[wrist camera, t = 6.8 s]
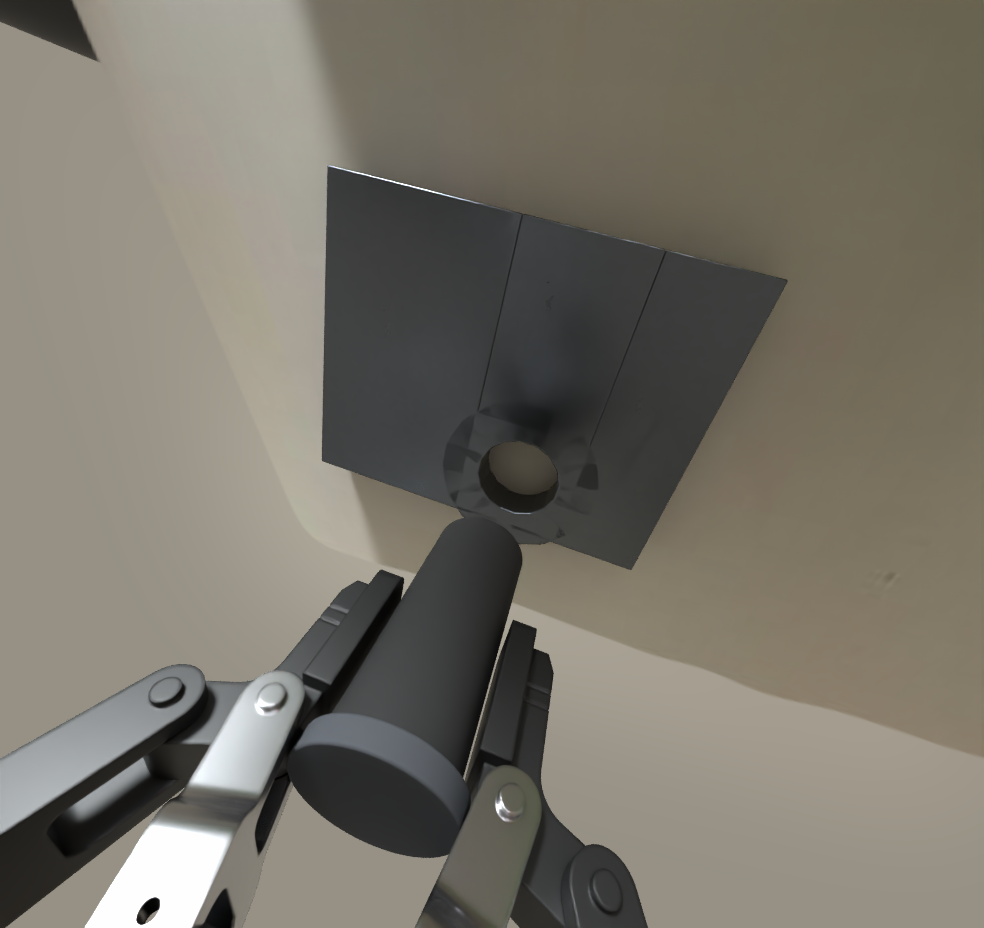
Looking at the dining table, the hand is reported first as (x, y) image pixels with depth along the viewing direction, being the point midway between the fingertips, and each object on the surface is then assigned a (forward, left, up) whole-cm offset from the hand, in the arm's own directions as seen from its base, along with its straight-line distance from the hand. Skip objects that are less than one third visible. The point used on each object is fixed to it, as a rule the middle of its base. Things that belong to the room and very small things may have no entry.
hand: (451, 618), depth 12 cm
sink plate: (-2, +4, -11) cm, 12 cm away
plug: (0, 0, -3) cm, 3 cm away
